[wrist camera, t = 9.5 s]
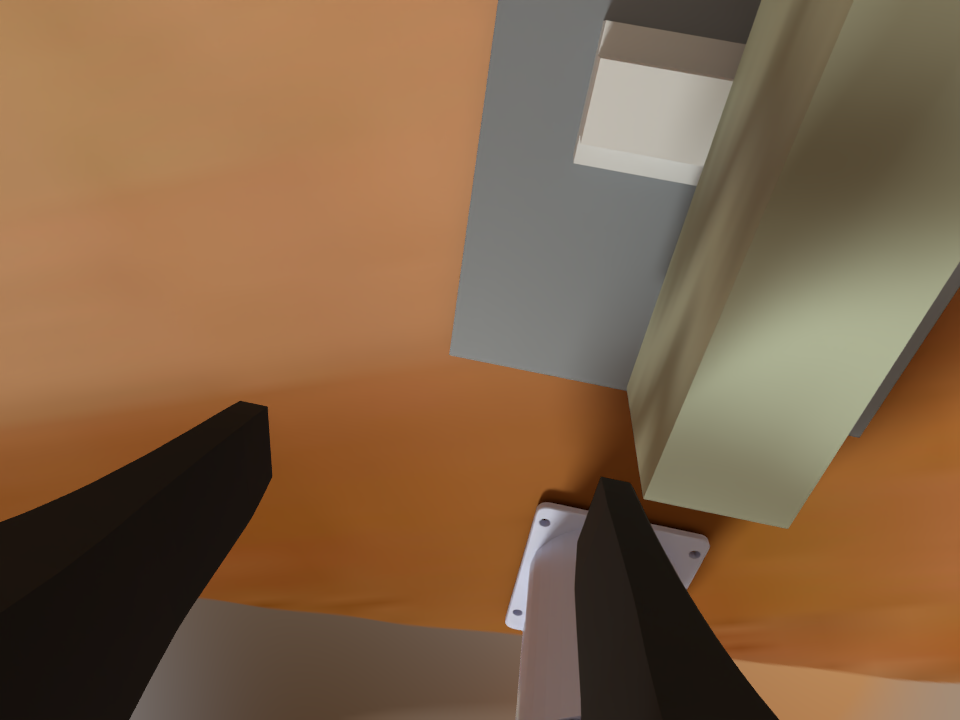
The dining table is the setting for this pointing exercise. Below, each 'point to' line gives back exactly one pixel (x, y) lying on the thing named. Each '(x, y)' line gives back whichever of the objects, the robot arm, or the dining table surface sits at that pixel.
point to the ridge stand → (597, 180)
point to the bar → (802, 253)
